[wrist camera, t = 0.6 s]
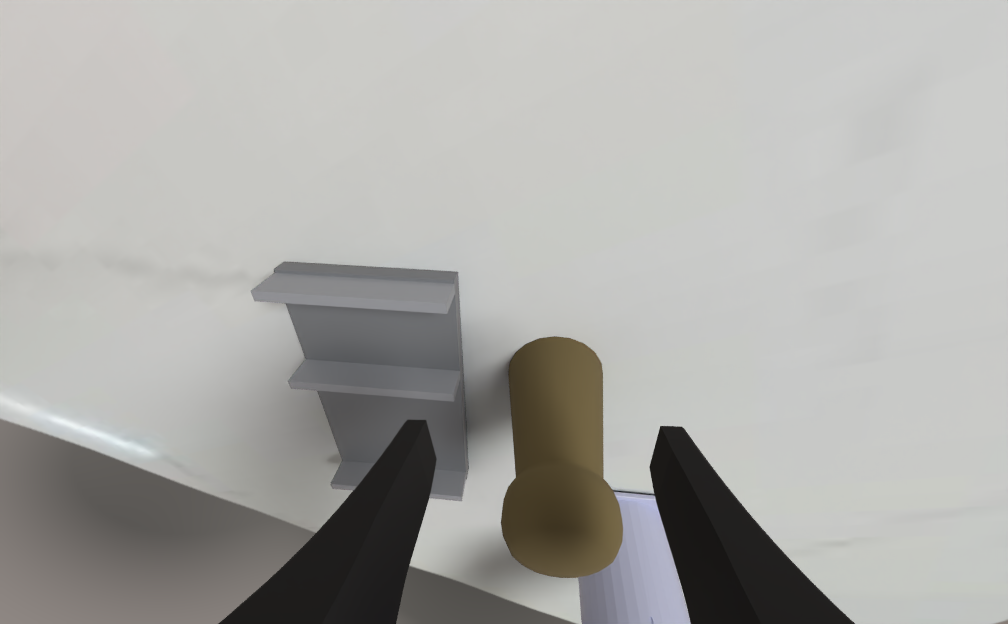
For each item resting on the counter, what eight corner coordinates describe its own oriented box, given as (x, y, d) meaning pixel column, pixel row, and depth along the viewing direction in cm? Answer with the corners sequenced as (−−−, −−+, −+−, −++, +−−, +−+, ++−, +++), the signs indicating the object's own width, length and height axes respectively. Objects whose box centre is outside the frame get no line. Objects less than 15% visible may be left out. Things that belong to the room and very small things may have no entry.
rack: (468, 468, 30) (461, 504, 28) (350, 457, 31) (333, 491, 28) (457, 271, 20) (445, 300, 18) (284, 261, 21) (249, 287, 18)
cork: (527, 413, 26) (518, 600, 17) (493, 350, 23) (461, 533, 14) (612, 396, 24) (654, 591, 15) (588, 325, 21) (622, 514, 12)
